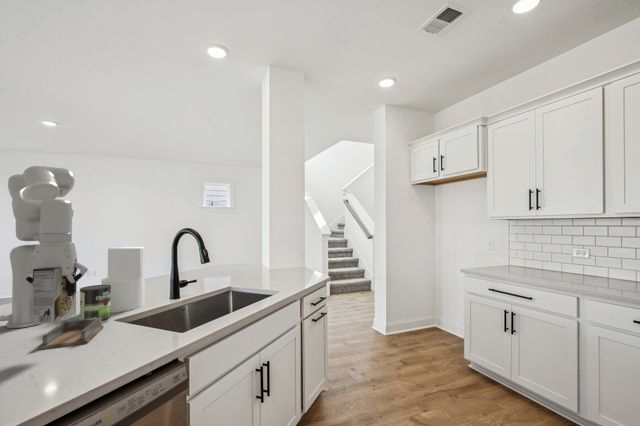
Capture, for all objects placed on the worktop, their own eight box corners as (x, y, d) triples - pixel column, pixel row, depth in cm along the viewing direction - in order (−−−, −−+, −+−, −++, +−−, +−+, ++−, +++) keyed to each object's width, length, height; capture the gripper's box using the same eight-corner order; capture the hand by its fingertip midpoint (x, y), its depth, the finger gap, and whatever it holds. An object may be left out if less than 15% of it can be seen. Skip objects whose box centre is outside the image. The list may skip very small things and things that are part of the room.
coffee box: (55, 315, 97) (56, 264, 97) (76, 314, 97) (77, 264, 98) (30, 324, 88) (31, 268, 88) (54, 323, 88) (55, 268, 89)
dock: (38, 349, 96) (38, 336, 96) (61, 332, 111) (61, 321, 111) (87, 343, 100) (87, 331, 100) (103, 327, 115) (103, 317, 115)
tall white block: (121, 301, 154) (122, 246, 155) (152, 302, 152) (152, 246, 152) (91, 311, 137) (92, 250, 138) (125, 312, 134) (126, 250, 135)
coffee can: (117, 318, 127) (117, 284, 127) (94, 326, 117) (94, 290, 117) (96, 317, 129) (97, 284, 129) (72, 325, 119) (72, 289, 119)
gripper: (12, 240, 87) (11, 302, 86) (85, 238, 93) (84, 296, 92) (27, 239, 94) (26, 297, 93) (94, 237, 100) (93, 291, 99)
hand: (55, 296), depth 93 cm, fingers closed on coffee box, 7 cm apart
